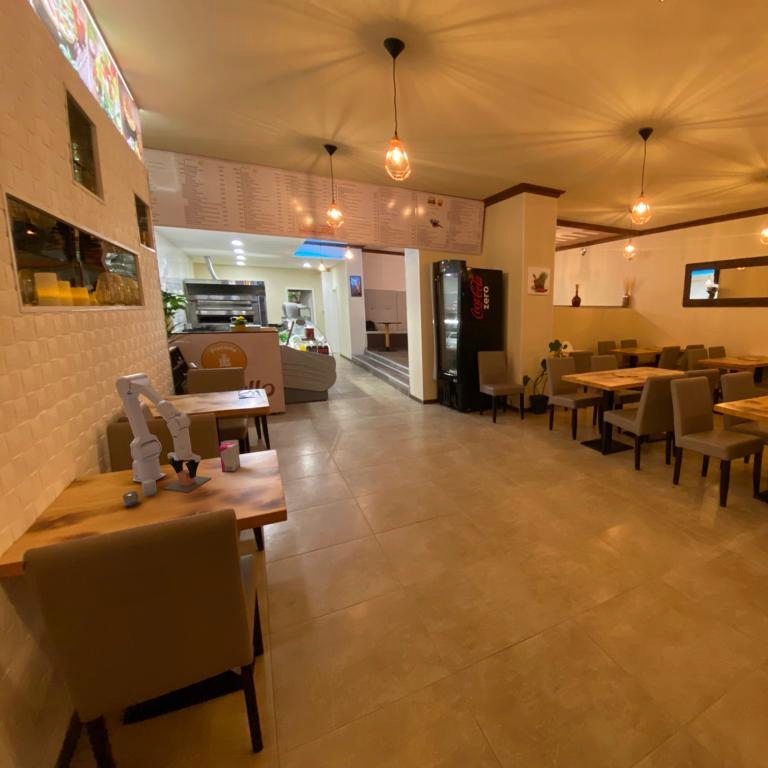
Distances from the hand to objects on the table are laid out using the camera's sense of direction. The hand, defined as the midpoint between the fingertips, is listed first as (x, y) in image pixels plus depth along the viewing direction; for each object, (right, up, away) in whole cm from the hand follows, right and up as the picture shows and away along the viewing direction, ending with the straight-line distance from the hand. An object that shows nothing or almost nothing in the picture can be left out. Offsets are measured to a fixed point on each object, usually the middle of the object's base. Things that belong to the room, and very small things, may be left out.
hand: (186, 476), depth 146 cm
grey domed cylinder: (-10, -5, -6) cm, 13 cm away
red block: (0, -3, 0) cm, 3 cm away
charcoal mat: (0, -3, +1) cm, 3 cm away
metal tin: (-12, -7, -14) cm, 20 cm away
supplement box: (+12, 0, +13) cm, 18 cm away
